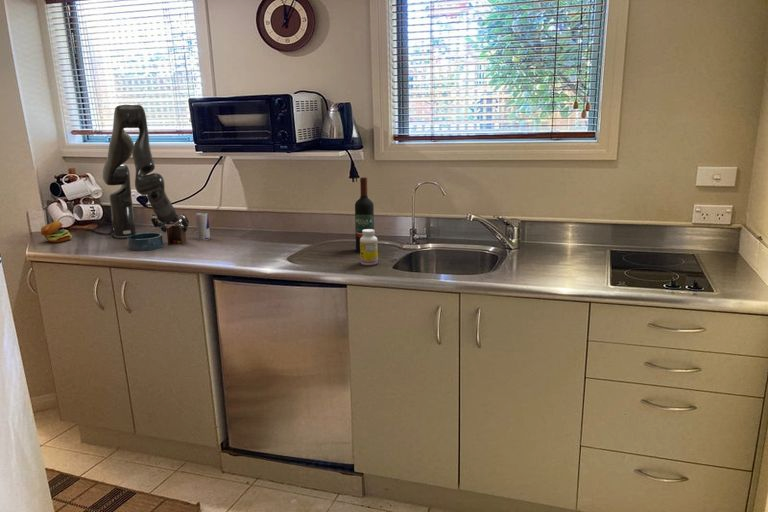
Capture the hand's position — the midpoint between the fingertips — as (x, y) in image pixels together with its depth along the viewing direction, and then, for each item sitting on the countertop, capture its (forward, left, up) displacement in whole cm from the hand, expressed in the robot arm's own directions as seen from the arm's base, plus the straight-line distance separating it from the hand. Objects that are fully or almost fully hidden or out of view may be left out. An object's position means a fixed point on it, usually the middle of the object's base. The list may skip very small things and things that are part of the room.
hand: (175, 230), depth 247 cm
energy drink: (+2, +13, -7) cm, 15 cm away
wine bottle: (+76, +34, -7) cm, 84 cm away
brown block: (-1, +1, -6) cm, 7 cm away
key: (-1, +2, -6) cm, 6 cm away
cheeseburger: (-53, -23, -7) cm, 59 cm away
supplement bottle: (+89, +18, -7) cm, 91 cm away
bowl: (-6, -11, -6) cm, 14 cm away
